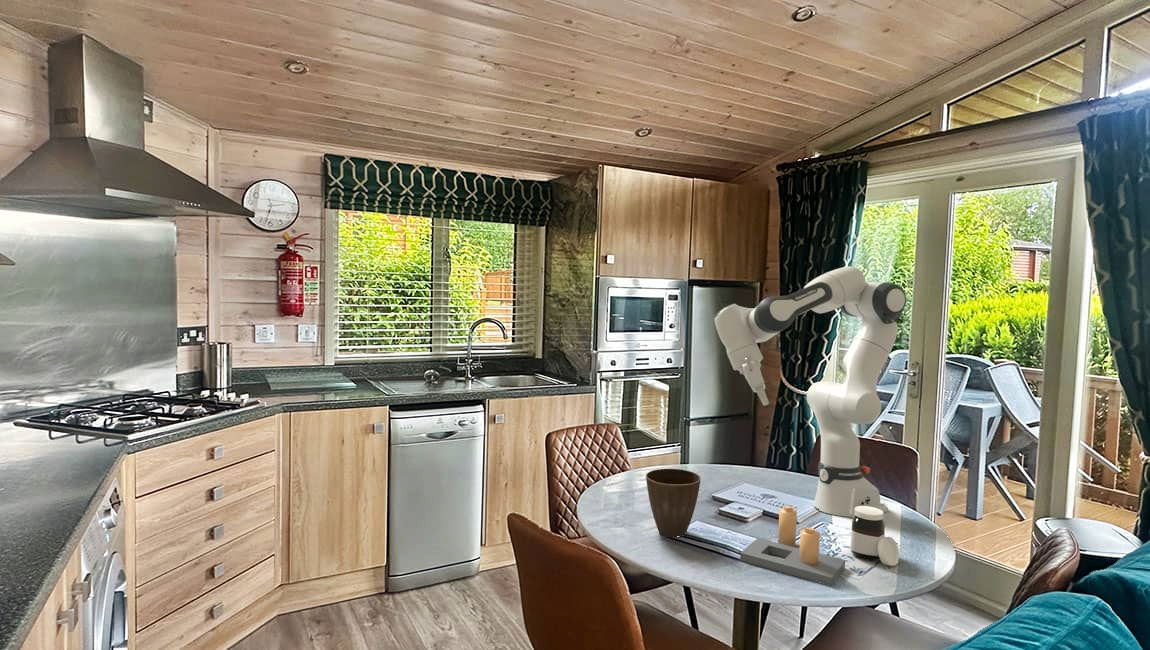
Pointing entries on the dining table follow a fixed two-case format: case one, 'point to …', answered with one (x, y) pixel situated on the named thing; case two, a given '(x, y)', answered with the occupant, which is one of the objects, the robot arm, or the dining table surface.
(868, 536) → the spread jar
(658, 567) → the dining table surface
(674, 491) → the plant pot
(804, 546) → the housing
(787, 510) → the orange peg
